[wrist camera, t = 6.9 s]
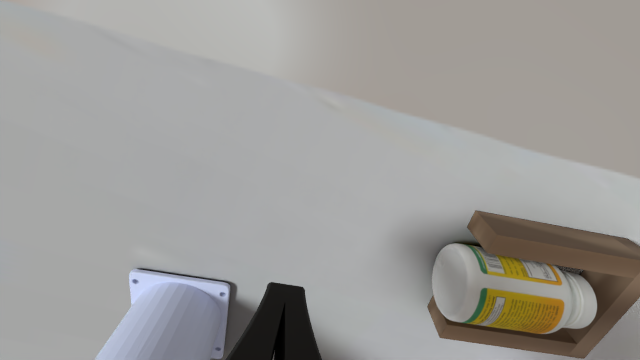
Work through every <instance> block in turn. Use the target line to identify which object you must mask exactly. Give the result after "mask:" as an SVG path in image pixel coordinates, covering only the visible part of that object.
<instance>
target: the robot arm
mask: <svg viewBox="0 0 640 360" xmlns="http://www.w3.org/2000/svg"><path fill="white" fill-rule="evenodd" d="M129 282H130V293H131V304H132V307H131V308H130V309H129V311H128V312H127V314H126V315H125V317H124V318H123V319H122V321H121V322H120V324H119V325H118V327H117V328H116V329H115V331H114V332H113V334H112V335H111V337H110V338H109V339H108V341H107V342H106V344H105V345H104V347H103V348H102V349H101V351H100V352H99V354H98V355H97V357H96V358H95V359H94V360H211V358H213V359H221V358H222V357H223V354H224V345H225V335H226V326H227V316H228V306H229V296H230V285H229V284H228V283H225V282H218V281H212V280H205V279H199V278H192V277H185V276H179V275H172V274H166V273H159V272H152V271H146V270H139V269H134V270H132V271H131V272H130V273H129ZM222 292H224V293H222ZM274 350H275V355H274ZM273 355H274V360H322V359H321V356H320V353H319V350H318V347H317V344H316V340H315V337H314V333H313V330H312V326H311V323H310V318H309V314H308V310H307V304H306V298H305V290H304V288H303V287H299V286H293V285H286V284H280V283H273V282H271V283H269V284H268V286H267V289H266V292H265V294H264V297H263V299H262V301H261V303H260V305H259V307H258V309H257V311H256V313H255V315H254V316H253V318H252V320H251V322H250V323H249V325H248V327H247V328H246V330H245V332H244V333H243V335H242V336H241V338H240V339H239V341H238V342H237V344H236V345H235V347H234V348H233V350H232V351H231V353H230V354H229V356H228V357H227V358H226V360H272V359H273Z"/></svg>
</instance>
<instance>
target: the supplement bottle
mask: <svg viewBox="0 0 640 360" xmlns="http://www.w3.org/2000/svg"><path fill="white" fill-rule="evenodd" d="M432 289H433V294H434V298H435V302H436V304H437V307H438V308H439V310H440V311H441V313H442V314H443V315H444V316H445V317H446V318H447V319H449V320H451V321H455V322H461V323H467V324H475V325H481V326H488V327H495V328H502V329H510V330H517V331H523V332H530V333H537V334H549V333H553V332H555V331H557V330H559V329H560V328H573V329H580V328H584V327H586V326H588V325H589V324H590V323H591V322H592V321H593V319H594V318H595V315H596V312H597V301H596V296H595V293H594V291H593V289H592V287H591V286H590V284H589V283H588V282H587V281H586V280H585V279H584V278H583V277H582V276H580V275H578V274H576V273H574V272H570V271H565V270H560V269H559V268H558V267H557V266H555V265H553V264H547V263H541V262H535V261H530V260H524V259H518V258H512V257H506V256H501V255H495V254H489V253H487V252H486V251H485V250H484V249H483V247H477V246H471V245H465V244H458V243H453V244H449V245H447V246H445V247H444V248H443V249H442V250H441V251H440V252H439V254H438V255H437V258H436V261H435V264H434V267H433V273H432Z"/></svg>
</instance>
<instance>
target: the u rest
mask: <svg viewBox="0 0 640 360" xmlns="http://www.w3.org/2000/svg"><path fill="white" fill-rule="evenodd" d="M467 228H468V229H469V230H470V232H471V233H472V234H473V236H474V237H475V238H476V239H477V241H478V242H479V243H480V245H481V246H482V247H483V249H484V250H485V251H486V252H487V253H489V254H495V255H501V256H506V257H512V258H518V259H524V260H530V261H535V262H541V263H547V264H553V265H559V266H564V267H570V268H576V269H582V270H583V272H582V273H581V274H580V276H582V277H583V278H584V279H585V280H586V281H587V282H588V283H589V284H590V286H591V287H592V289H593V291H594V293H595V296H596V301H597V312H596V315H595V318H594V319H593V321H592V322H591V323H590V324H589V325H588V326H586V327H584V328H580V329H573V328H560V329H559V330H557V331H555V332H553V333H549V334H537V333H530V332H523V331H517V330H510V329H502V328H495V327H488V326H481V325H475V324H467V323H461V322H455V321H451V320H449V319H447V318H446V317H445V316H444V315H443V314H442V313H441V311H440V310H439V308H438V307H437V304H436V302H435V298H434V294H433V296H432V298H431V300H430V302H429V304H428V306H427V307H428V309H429V312H430V314H431V317H432V320H433V322H434V325H435V327H436V330H437V332H438V335H439V337H440V338H445V339H452V340H459V341H466V342H472V343H479V344H486V345H493V346H500V347H507V348H514V349H521V350H528V351H535V352H542V353H548V354H555V355H562V356H569V357H576V358H583V359H584V358H585V357H586V356H587V355H588V354H589V352H590V351H591V350H592V349H593V348H594V347H595V346H596V345H597V344H598V343H599V341H600V340H601V339H602V338H603V337H604V336H605V335H606V334H607V333H608V331H609V330H610V329H611V328H612V327H613V326H614V325H615V324H616V323H617V322H618V320H619V319H620V318H621V317H622V316H623V315H624V314H625V313H626V312H627V311H628V309H629V308H630V307H631V306H632V305H633V304H634V303H635V302H636V301H637V300H638V298H639V297H640V247H639V246H638V245H636V244H635V243H633V242H632V241H630V240H629V239H626V238H621V237H616V236H610V235H605V234H599V233H594V232H589V231H583V230H578V229H572V228H567V227H562V226H556V225H551V224H545V223H540V222H535V221H529V220H524V219H518V218H513V217H508V216H502V215H497V214H491V213H486V212H481V211H475V213H474V215H473V217H472V219H471V221H470V223H469V225H468V227H467Z"/></svg>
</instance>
